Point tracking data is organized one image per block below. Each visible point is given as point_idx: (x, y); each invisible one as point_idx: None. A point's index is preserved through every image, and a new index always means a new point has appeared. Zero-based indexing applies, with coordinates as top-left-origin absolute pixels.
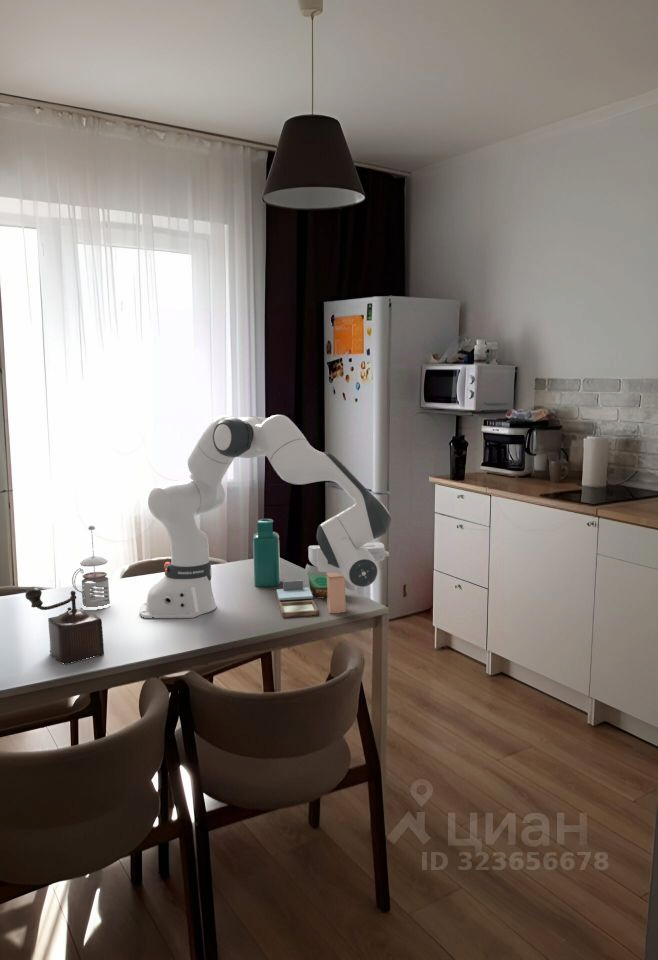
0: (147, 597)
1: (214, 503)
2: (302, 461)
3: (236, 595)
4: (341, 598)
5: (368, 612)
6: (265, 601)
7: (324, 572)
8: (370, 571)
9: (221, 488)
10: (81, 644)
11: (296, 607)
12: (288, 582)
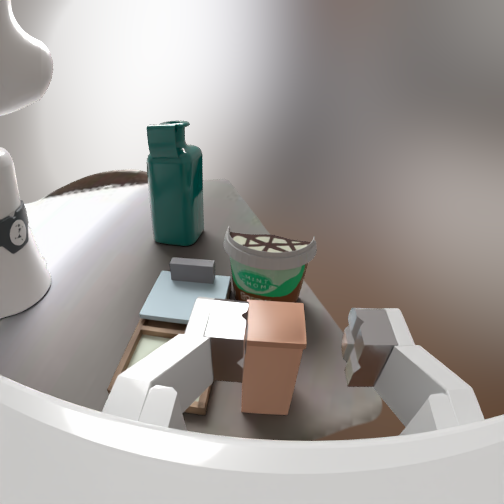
0: None
1: (4, 88)
2: None
3: (104, 262)
4: (280, 391)
5: (351, 425)
6: (131, 298)
7: (260, 264)
8: None
9: (24, 53)
10: None
11: None
12: (180, 265)
